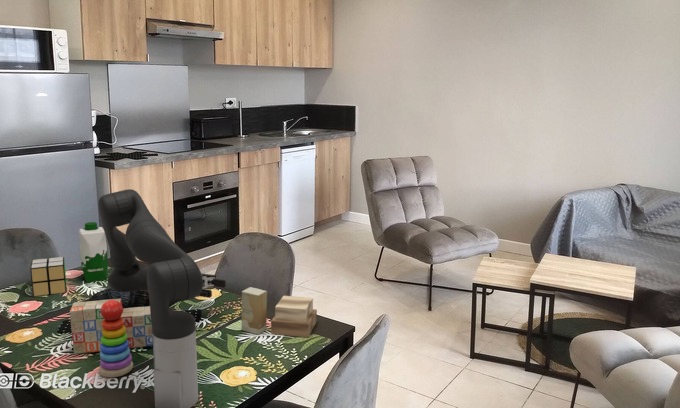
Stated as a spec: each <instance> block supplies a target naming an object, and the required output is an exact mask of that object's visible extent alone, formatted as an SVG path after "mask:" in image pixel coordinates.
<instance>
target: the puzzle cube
mask: <svg viewBox="0 0 680 408" xmlns="http://www.w3.org/2000/svg"><path fill="white" fill-rule="evenodd" d="M30 264H31V265H30V270H29V271H30V277H31V278H30V281H31V288H32V296H33V297H35V298H36V297H42V296H49V295H59V294H66V293H67V274H66V263H65V257H64V256H57V257H50V258H39V259H38V258H37V259H32V260H31V263H30Z"/></svg>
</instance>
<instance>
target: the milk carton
mask: <svg viewBox="0 0 680 408" xmlns="http://www.w3.org/2000/svg"><path fill="white" fill-rule="evenodd" d="M78 232H79V233H78V240H79V253H80V266H81V271H82V273H83V276H84V280H85V283H92V282H93V283H94V282H98V281H99V282H100V281H105V280H107V281H108V271H109V270H108V268H109V262H108V248H107V244H108V243H107V238H106V235H105V232H104V228H103V226H99V227H98V223H97V222H96V221H94V222H93V221H92V222H91V221H90V222H85V223H84V228H79V231H78Z"/></svg>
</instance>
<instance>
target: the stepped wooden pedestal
mask: <svg viewBox="0 0 680 408" xmlns="http://www.w3.org/2000/svg"><path fill="white" fill-rule="evenodd" d="M313 304H314V298H313V297H305V296H293V295H292V296H291V295H283V296H282V297H281V298H280V300H279V301H278V303H276V305H275V307H274V309H275V310H274V311H275V314H274V316H273V318H272V319H271V320H270V335H278V336H279V335H280V336H287V337H299V338H309V337H310V335H311V333H312V331H313V330H314V327H315V325H316V324H317V321H318V319H317V316H318V314H317V312H318V310H317V309H314V305H313Z"/></svg>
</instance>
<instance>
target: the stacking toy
mask: <svg viewBox="0 0 680 408" xmlns="http://www.w3.org/2000/svg"><path fill="white" fill-rule="evenodd" d="M108 300H109V301H107V302H105V303H104V304H103V305H102V307H101V315H102V317H103V318H104V320H103V322H102V327H103V329H102V335H103V336H102V337H101V342H102V343H101V345H100V349H101V351H99V358H100V359H99V367H98V372H99V373H100V375H101V376H103V377H105V378H118V377H122V376H125V375H126V374H128V373H130V372H131V371H132V370H133V368H134V362H133V355H132V354H131V350H130V348H129V347H128V344H129V343H128V340H127V334H126V333H125V332H126V327H125V326H124V325H123V324H124V320H123V319H122V318H121V315H122V313H123V309H124V307H123V303H122V304H121V303H120V302H118V301H116V300H110V299H108Z"/></svg>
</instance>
